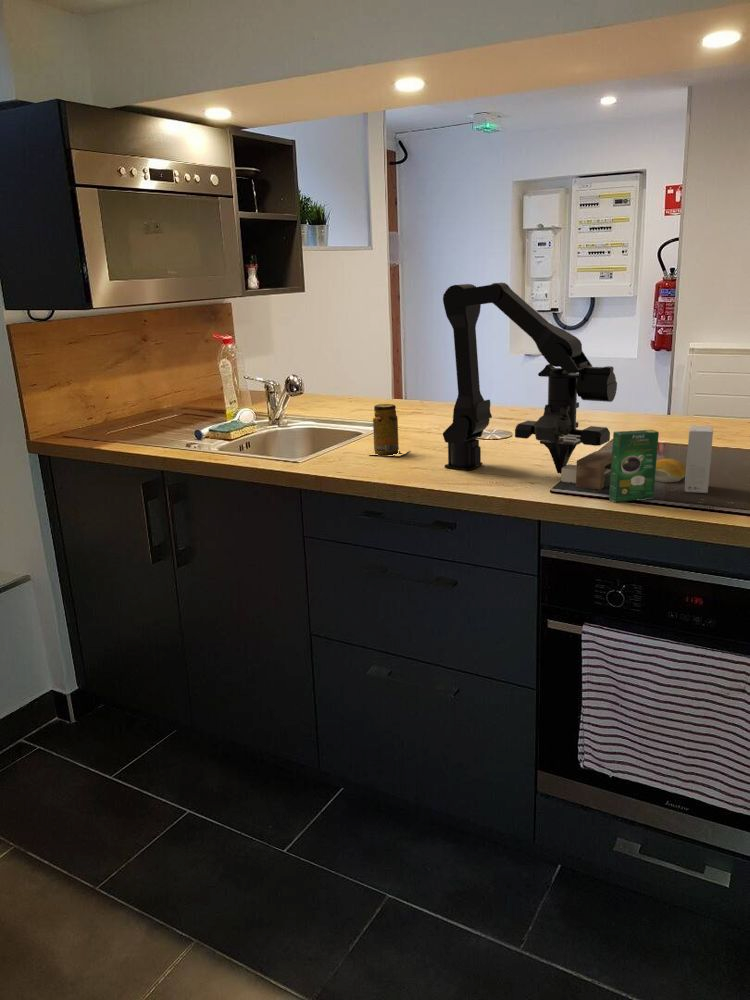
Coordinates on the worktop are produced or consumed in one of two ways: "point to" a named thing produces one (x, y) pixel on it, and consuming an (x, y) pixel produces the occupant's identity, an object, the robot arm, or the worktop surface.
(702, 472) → the skincare box
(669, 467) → the bread roll
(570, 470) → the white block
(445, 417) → the worktop surface
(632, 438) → the coffee box
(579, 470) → the wooden block
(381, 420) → the condiment
